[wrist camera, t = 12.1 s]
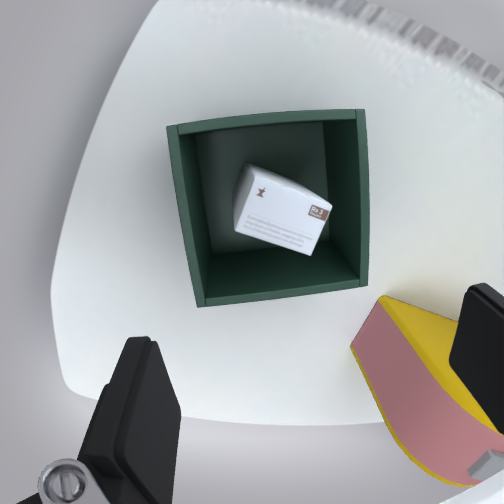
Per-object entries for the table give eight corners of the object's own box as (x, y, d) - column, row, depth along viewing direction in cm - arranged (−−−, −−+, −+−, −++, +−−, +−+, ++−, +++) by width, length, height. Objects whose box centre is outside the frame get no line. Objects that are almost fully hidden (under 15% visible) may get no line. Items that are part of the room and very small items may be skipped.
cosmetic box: (230, 199, 34) (228, 235, 22) (245, 158, 32) (250, 173, 21) (285, 218, 35) (309, 262, 23) (301, 179, 33) (334, 205, 22)
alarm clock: (348, 348, 43) (419, 513, 18) (381, 294, 40) (492, 451, 15) (442, 369, 46) (515, 481, 22) (471, 327, 43) (563, 433, 19)
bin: (207, 258, 37) (197, 308, 27) (187, 128, 32) (165, 126, 21) (333, 243, 37) (368, 286, 27) (326, 114, 32) (365, 109, 21)
